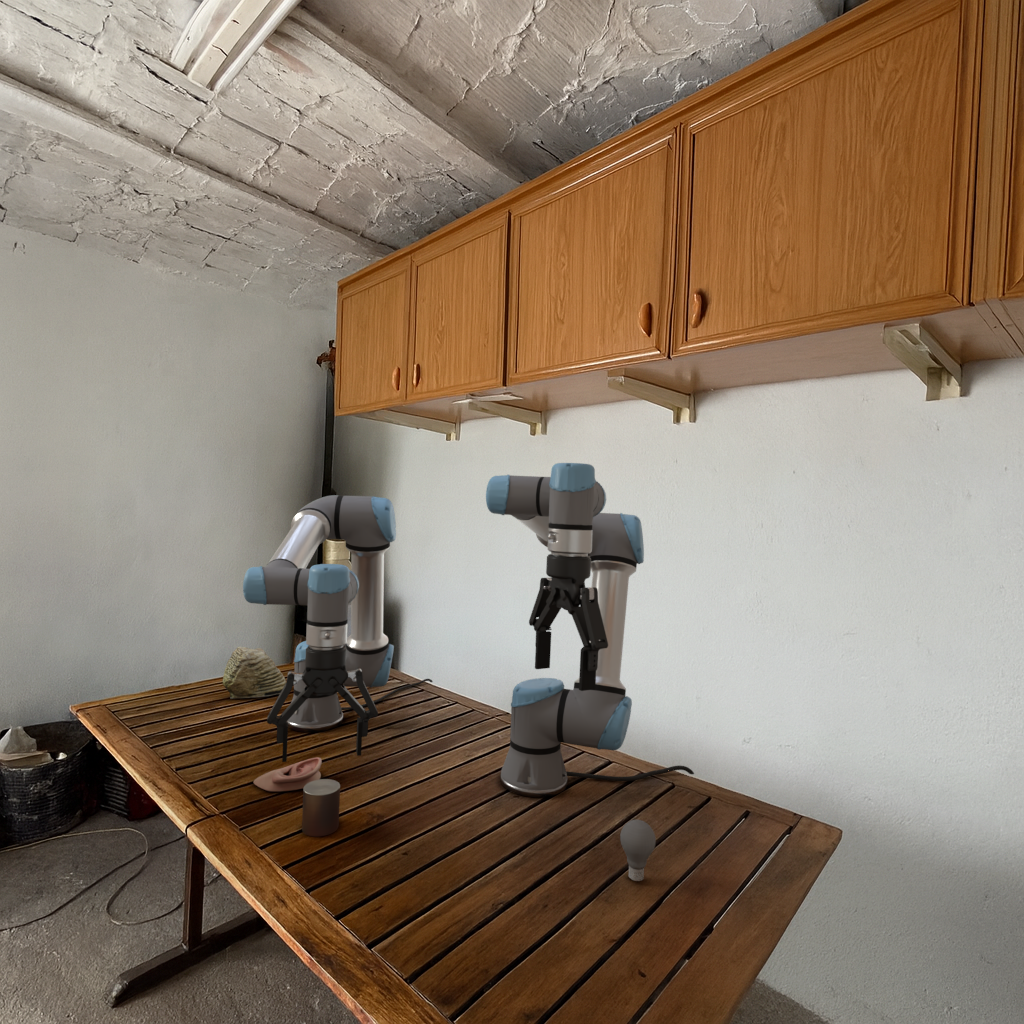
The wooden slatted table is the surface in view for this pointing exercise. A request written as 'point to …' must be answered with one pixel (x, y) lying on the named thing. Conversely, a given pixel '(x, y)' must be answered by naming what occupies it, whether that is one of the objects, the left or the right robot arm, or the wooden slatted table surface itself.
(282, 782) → the anatomical model
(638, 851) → the light bulb
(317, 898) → the wooden slatted table surface
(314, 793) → the can
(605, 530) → the right robot arm
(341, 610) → the left robot arm
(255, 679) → the fossil
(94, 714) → the wooden slatted table surface
